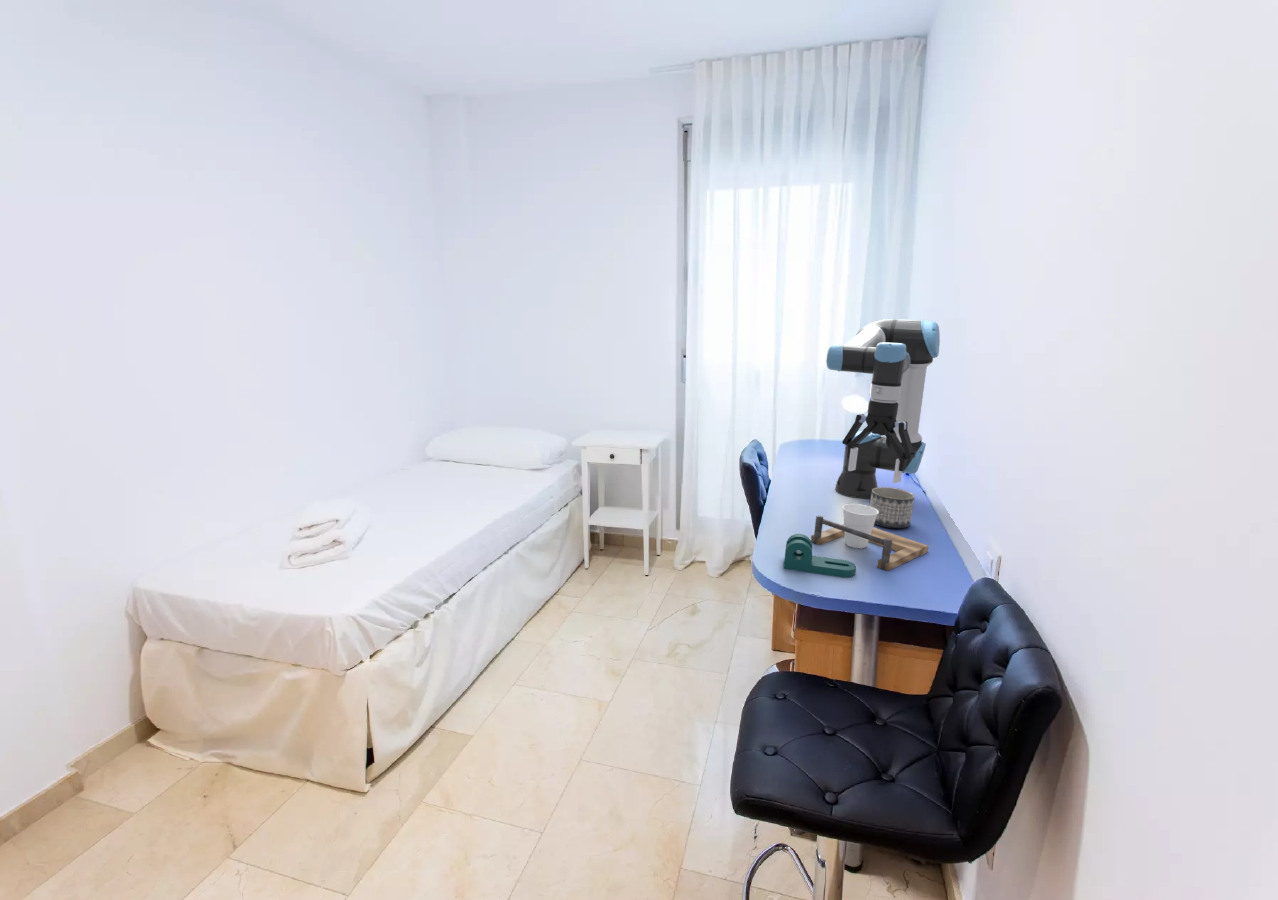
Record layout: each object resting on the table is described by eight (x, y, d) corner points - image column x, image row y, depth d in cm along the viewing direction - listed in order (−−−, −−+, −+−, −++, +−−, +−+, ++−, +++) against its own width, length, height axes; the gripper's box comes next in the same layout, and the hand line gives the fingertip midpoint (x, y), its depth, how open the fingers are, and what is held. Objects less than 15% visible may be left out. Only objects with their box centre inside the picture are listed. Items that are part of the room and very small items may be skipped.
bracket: (783, 569, 158) (786, 541, 156) (784, 559, 164) (787, 532, 162) (855, 580, 153) (859, 551, 151) (854, 569, 159) (858, 541, 157)
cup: (830, 540, 178) (834, 505, 175) (856, 536, 182) (861, 502, 179) (854, 553, 169) (859, 516, 167) (881, 549, 173) (886, 513, 171)
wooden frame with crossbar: (852, 526, 190) (855, 502, 188) (927, 552, 172) (931, 525, 170) (810, 541, 176) (813, 516, 175) (887, 571, 158) (891, 542, 157)
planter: (864, 515, 202) (868, 485, 199) (905, 519, 199) (909, 489, 197) (871, 528, 190) (875, 496, 187) (913, 532, 187) (918, 501, 185)
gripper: (835, 394, 170) (827, 467, 175) (922, 408, 151) (910, 489, 156) (850, 393, 175) (841, 464, 180) (936, 406, 156) (924, 485, 161)
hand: (873, 476), depth 168 cm, fingers open, 13 cm apart
